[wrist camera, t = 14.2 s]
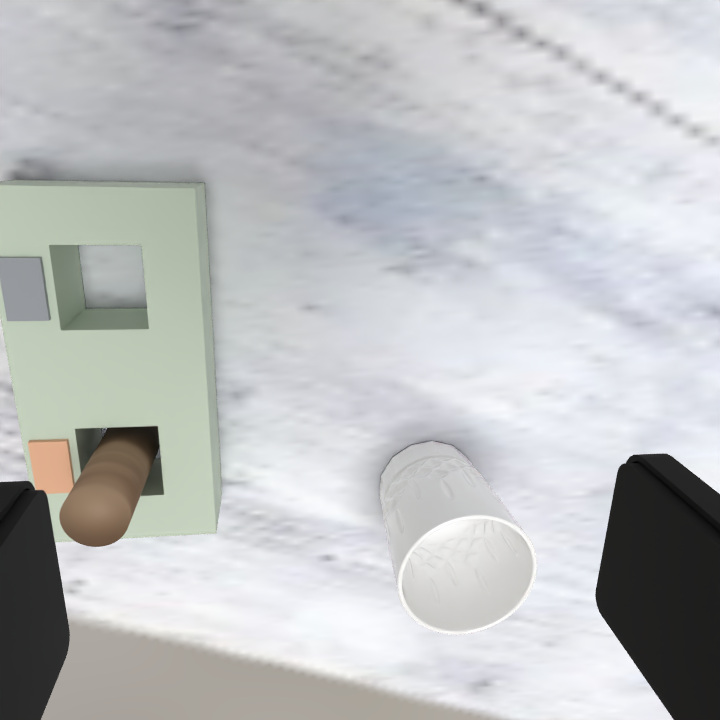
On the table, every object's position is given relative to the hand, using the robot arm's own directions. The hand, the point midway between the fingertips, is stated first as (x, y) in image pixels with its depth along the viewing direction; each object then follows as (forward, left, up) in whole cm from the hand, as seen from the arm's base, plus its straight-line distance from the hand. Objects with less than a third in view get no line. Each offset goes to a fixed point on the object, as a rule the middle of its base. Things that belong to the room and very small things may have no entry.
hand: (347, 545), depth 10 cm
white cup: (+16, +9, -28) cm, 34 cm away
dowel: (+11, -10, -28) cm, 32 cm away
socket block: (+6, -10, -28) cm, 31 cm away
